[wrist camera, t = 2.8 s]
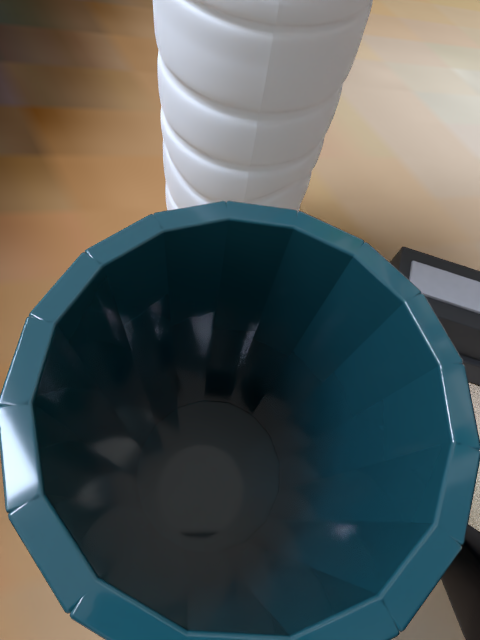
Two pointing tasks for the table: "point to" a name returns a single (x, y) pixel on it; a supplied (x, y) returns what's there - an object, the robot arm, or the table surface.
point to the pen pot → (238, 433)
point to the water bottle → (250, 94)
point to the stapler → (449, 300)
